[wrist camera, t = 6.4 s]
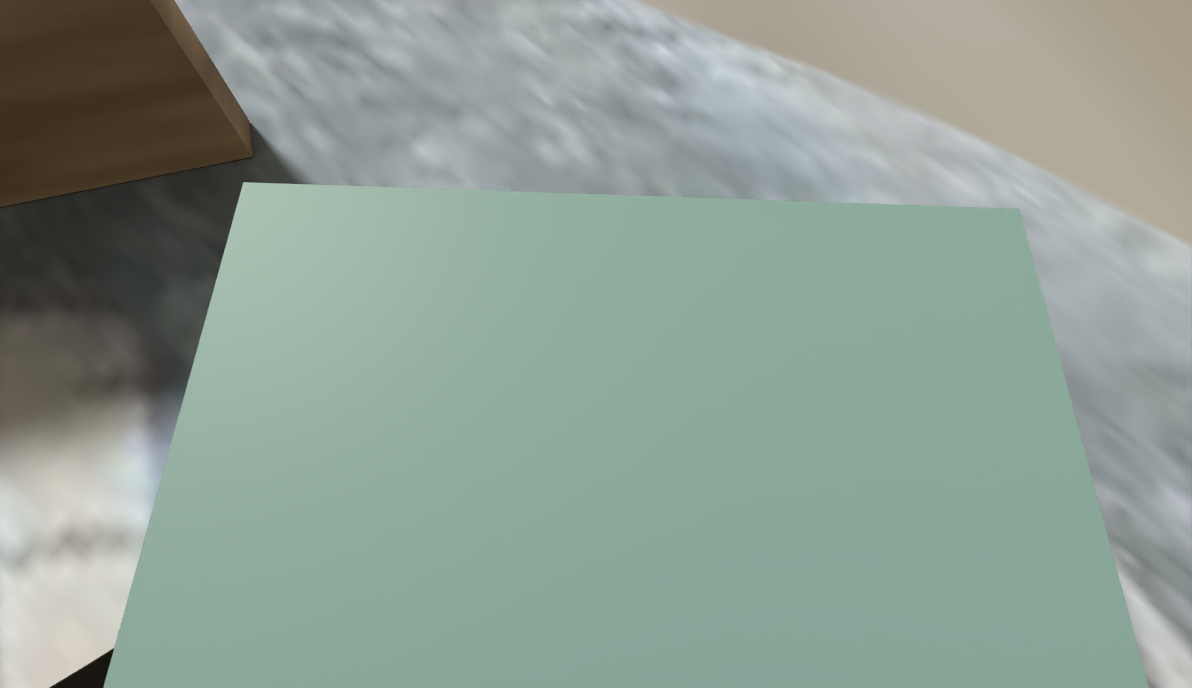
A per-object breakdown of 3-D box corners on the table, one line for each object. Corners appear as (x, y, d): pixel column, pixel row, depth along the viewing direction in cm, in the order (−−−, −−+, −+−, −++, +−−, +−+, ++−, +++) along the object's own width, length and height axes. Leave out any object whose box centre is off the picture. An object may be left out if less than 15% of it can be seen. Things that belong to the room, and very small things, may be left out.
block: (715, 792, 13) (1344, 1416, 2) (455, 786, 13) (-99, 1412, 2) (704, 522, 15) (1018, 208, 5) (479, 516, 15) (243, 182, 4)
